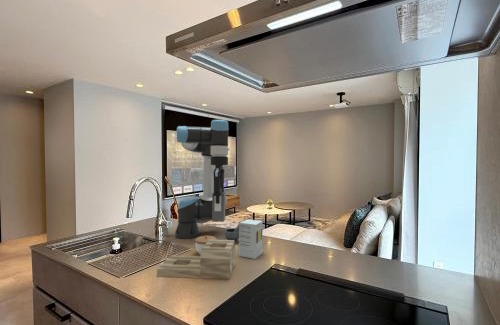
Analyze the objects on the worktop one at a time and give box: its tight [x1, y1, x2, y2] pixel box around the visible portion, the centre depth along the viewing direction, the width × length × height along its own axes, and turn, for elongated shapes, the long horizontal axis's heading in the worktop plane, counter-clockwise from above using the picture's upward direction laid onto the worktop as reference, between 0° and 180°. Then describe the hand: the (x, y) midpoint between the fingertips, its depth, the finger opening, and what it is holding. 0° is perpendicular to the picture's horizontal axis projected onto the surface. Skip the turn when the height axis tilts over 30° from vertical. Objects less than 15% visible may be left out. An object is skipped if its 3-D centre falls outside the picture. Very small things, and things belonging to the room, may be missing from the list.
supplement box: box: [238, 219, 264, 260], centre depth 130 cm, size 10×9×17 cm
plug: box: [211, 191, 228, 223], centre depth 111 cm, size 4×6×14 cm
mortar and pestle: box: [224, 221, 241, 245], centre depth 150 cm, size 11×9×12 cm
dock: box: [156, 239, 235, 280], centre depth 112 cm, size 15×30×11 cm, turn 87°
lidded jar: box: [194, 235, 217, 256], centre depth 131 cm, size 11×11×9 cm
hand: (218, 209), depth 111 cm, fingers closed on plug, 4 cm apart
